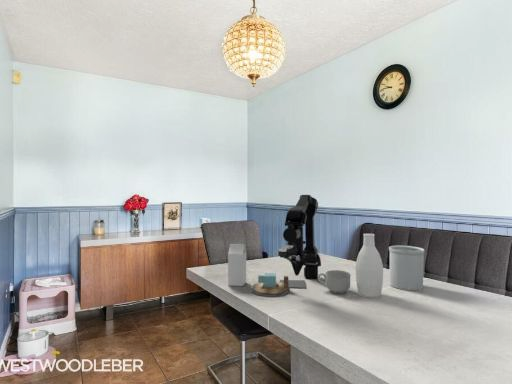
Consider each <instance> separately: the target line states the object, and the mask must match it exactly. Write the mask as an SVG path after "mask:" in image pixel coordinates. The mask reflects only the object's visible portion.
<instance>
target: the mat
mask: <svg viewBox="0 0 512 384" xmlns="http://www.w3.org/2000/svg"><path fill="white" fill-rule="evenodd" d="M279 282H280V283H284V279H279ZM288 286H289V289H307V286H306V281H305V280H301V279H288Z"/></svg>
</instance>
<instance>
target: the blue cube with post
mask: <svg viewBox="0 0 512 384" xmlns="http://www.w3.org/2000/svg"><path fill="white" fill-rule="evenodd" d="M257 279H258V280H257V283H264V287H276V282H277V273H274V272H273V273H272V272H271V273H267V272H266V273H264V274H259V275H258V276H257Z"/></svg>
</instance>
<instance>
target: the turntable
mask: <svg viewBox="0 0 512 384" xmlns="http://www.w3.org/2000/svg"><path fill="white" fill-rule="evenodd" d="M283 280H284V283H280V281H276V287H264V283H258V282H257V283H254V284H253V285H251V286H252V287H251V288H252V289H253V290H254V291H255V292H258V293H263V294H279V293H283V292H286V291H287V290H288V288H289V286H288V280H289V276H288V275H284V276H283ZM289 289H290V288H289Z"/></svg>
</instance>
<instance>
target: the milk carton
mask: <svg viewBox="0 0 512 384" xmlns="http://www.w3.org/2000/svg"><path fill="white" fill-rule="evenodd" d="M227 279H228V280H227V282H228V283H227V285H228V286H231V287H243V286H244V285H246V283H247V250H246V247H245V244H243V243H229V248H228V252H227Z"/></svg>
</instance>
